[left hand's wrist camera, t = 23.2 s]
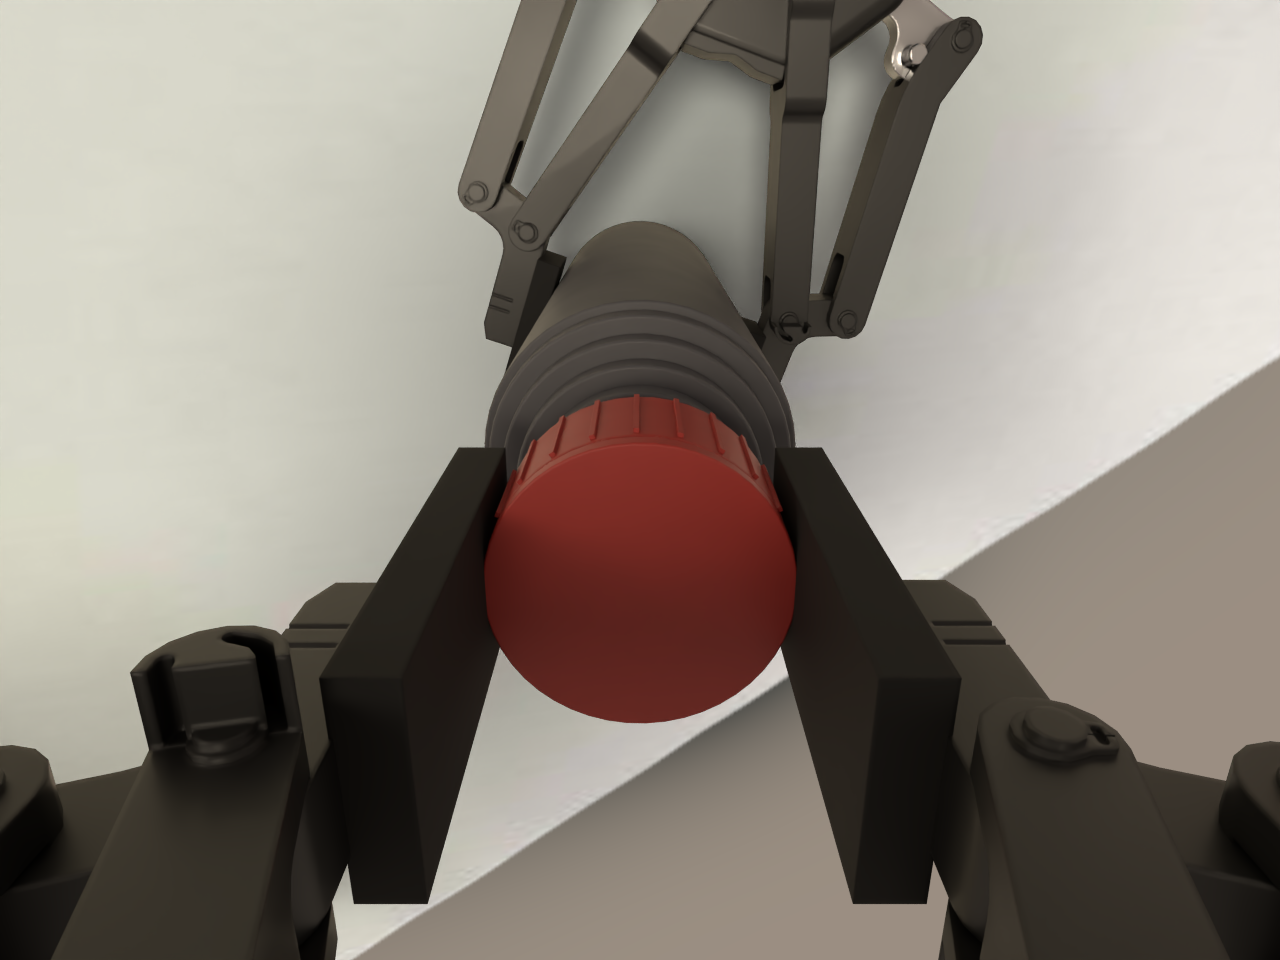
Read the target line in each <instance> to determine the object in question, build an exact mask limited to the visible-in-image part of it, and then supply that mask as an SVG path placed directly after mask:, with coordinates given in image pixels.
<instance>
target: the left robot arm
mask: <svg viewBox="0 0 1280 960" xmlns="http://www.w3.org/2000/svg"><path fill="white" fill-rule="evenodd" d="M506 486H507V466H506V449H505V448H458V450H457V451H456V453H455V455H454V456H453V458H452V460H451V461H450V463H449V465H448V466H447V468H446V470H445V471H444V473H443V475H442V476H441V478H440V479H439V481H438V483H437V484H436V486H435V488H434V489H433V491H432V493H431V494H430V496H429V498H428V499H427V501H426V503H425V504H424V506H423V507H422V509H421V511H420V512H419V514H418V516H417V517H416V519H415V521H414V522H413V524H412V526H411V527H410V529H409V530H408V532H407V534H406V535H405V537H404V539H403V540H402V542H401V544H400V545H399V547H398V549H397V550H396V552H395V554H394V555H393V557H392V558H391V560H390V562H389V563H388V565H387V567H386V568H385V570H384V572H383V573H382V575H381V577H380V578H379V580H378V582H377V583H335V584H333V585H332V586H330V587H328V588H327V589H325V590H324V591H322V592H321V593H319V594H318V595H316V596H314V597H313V598H311V599H310V600H308V601H307V602H306V603H305V604H304V605H303V607H302V608H301V609H300V611H299V612H298V613H297V615H296V616H295V617H294V619H293V620H292V622H291V623H290V624H289V629H286V630H285V631H284V632H283V634H282V635H281V634H279V633H278V632H277V631H275V630H271V629H267V628H262V627H258V626H225V627H219V628H214V629H209V630H204V631H199V632H195V633H193V634H190V635H187V636H184V637H182V638H179V639H176V640H173V641H171V642H168V643H167V644H165V645H163V646H162V647H160V648H158V649H157V650H155V651H153V652H152V653H150V654H148V655H146V656H145V657H144V658H143V659H142V660H141V661H140V662H139V663H138V665H137V666H136V667H135V668H134V669H133V670H132V671H131V672H130V674H131V678H132V682H133V686H134V690H135V694H136V698H137V702H138V706H139V710H140V714H141V719H142V723H143V727H144V731H145V735H146V739H147V743H148V747H149V752H148V754H147V756H146V758H145V760H144V762H143V764H142V766H140V767H136V768H132V769H128V770H125V771H121V772H116V773H111V774H106V775H101V776H96V777H91V778H86V779H81V780H76V781H71V782H67V783H62V784H57V785H56V784H55V781H54V777H53V774H52V771H51V767H50V764H49V761H48V759H47V758H46V757H44V756H43V755H42V754H41V753H40V752H38V751H37V750H36V749H32V748H26V747H20V746H14V745H9V746H0V960H335V956H336V948H337V940H338V938H337V931H336V924H335V917H334V911H333V905H332V901H333V898H334V896H335V893H336V891H337V888H338V886H339V883H340V881H341V879H342V876H343V874H344V871H345V869H346V866H347V864H348V869H349V875H350V882H351V888H352V895H353V901H354V904H428V901H429V897H430V894H431V890H432V886H433V883H434V879H435V876H436V872H437V869H438V865H439V862H440V858H441V854H442V851H443V847H444V844H445V840H446V837H447V833H448V830H449V826H450V822H451V819H452V815H453V812H454V808H455V805H456V801H457V798H458V794H459V790H460V787H461V783H462V780H463V776H464V773H465V769H466V766H467V762H468V758H469V755H470V751H471V748H472V744H473V741H474V737H475V734H476V730H477V726H478V723H479V719H480V716H481V712H482V709H483V705H484V702H485V698H486V694H487V691H488V687H489V684H490V680H491V677H492V673H493V670H494V666H495V662H496V659H497V655H498V652H499V648H500V646H499V644H498V642H497V640H496V638H495V636H494V634H493V632H492V629H491V626H490V623H489V621H488V616H487V604H486V590H485V576H484V559H485V555H486V551H487V548H488V544H489V541H490V538H491V535H492V533H493V530H494V528H495V525H496V522H497V520H498V518H496V517H494V516H495V513H496V511H497V508H498V506H499V503H500V501H501V498H502V496H503V493H504V491H505V488H506ZM773 486H774V489H775V491H776V494H777V496H778V499H779V501H780V504H781V506H782V509H783V511H781V512H780V513H781V516H782V519H783V521H784V524H785V527H786V529H787V532H788V534H789V537H790V540H791V542H792V546H793V549H794V554H795V559H796V566H797V569H796V585H795V598H794V611H793V619H792V622H791V625H790V627H789V630H788V632H787V635H786V637H785V639H784V641H783V643H782V644H781V650H782V653H783V657H784V660H785V664H786V668H787V671H788V675H789V678H790V682H791V685H792V689H793V692H794V696H795V700H796V703H797V707H798V710H799V714H800V717H801V721H802V724H803V728H804V732H805V735H806V739H807V742H808V745H809V749H810V753H811V756H812V760H813V764H814V767H815V770H816V774H817V778H818V781H819V785H820V788H821V792H822V795H823V799H824V802H825V806H826V810H827V813H828V817H829V820H830V824H831V827H832V831H833V835H834V838H835V842H836V845H837V849H838V852H839V856H840V859H841V863H842V867H843V870H844V873H845V877H846V881H847V884H848V888H849V891H850V895H851V899H852V902H853V904H927V898H928V892H929V886H930V879H931V873H932V866H933V860H934V863H935V865H936V868H937V870H938V873H939V875H940V877H941V880H942V882H943V885H944V887H945V890H946V892H947V894H948V897H949V899H948V905H947V911H946V917H945V923H944V929H943V935H942V941H941V947H940V953H939V959H938V960H1280V742H1272V741H1269V742H1263V743H1257V744H1251V745H1246V746H1245V747H1244V748H1243V749H1241V750H1240V751H1239V752H1238V753H1236V754H1235V755H1234V756H1233V760H1232V763H1231V766H1230V770H1229V773H1228V776H1227V780H1226V781H1223V780H1218V779H1214V778H1208V777H1204V776H1199V775H1194V774H1189V773H1184V772H1179V771H1174V770H1169V769H1164V768H1159V767H1156V766H1152V765H1148V764H1144V763H1140V762H1137V761H1136V759H1135V757H1134V754H1133V752H1132V750H1131V748H1130V747H1129V746H1128V744H1127V743H1126V742H1125V741H1124V739H1123V738H1122V737H1121V736H1120V734H1119V733H1118V732H1117V731H1116V730H1115V729H1113V728H1112V727H1110V726H1109V725H1107V724H1106V723H1105V722H1103V721H1102V720H1100V719H1099V718H1097V717H1096V716H1095V715H1092V714H1090V713H1088V712H1085V711H1083V710H1080V709H1078V708H1076V707H1074V706H1071V705H1069V704H1066V703H1061V702H1057V701H1052V700H1050V699H1049V698H1048V696H1047V695H1046V694H1045V692H1044V691H1043V690H1042V688H1041V687H1040V686H1039V684H1038V683H1037V682H1036V680H1035V679H1034V678H1033V676H1032V675H1031V674H1030V672H1029V671H1028V669H1027V668H1026V667H1025V665H1024V664H1023V663H1022V661H1021V660H1020V659H1019V657H1018V656H1017V655H1016V653H1015V652H1014V651H1013V649H1012V648H1011V647H1010V645H1006V643H1005V639H1004V637H1003V636H1002V634H1001V633H1000V632H999V631H998V629H997V628H996V627H995V626H992V621H991V620H990V618H989V617H988V616H987V614H986V613H985V612H984V610H983V609H982V608H981V606H980V605H979V604H978V602H977V601H976V600H975V599H974V598H973V597H971V596H969V595H968V594H966V593H965V592H963V591H962V590H960V589H959V588H957V587H955V586H954V585H952V584H951V583H949V582H948V581H946V580H902V579H901V577H900V576H899V574H898V572H897V571H896V569H895V567H894V566H893V564H892V562H891V561H890V559H889V557H888V556H887V554H886V553H885V551H884V549H883V548H882V546H881V544H880V543H879V541H878V539H877V538H876V536H875V534H874V533H873V531H872V529H871V528H870V526H869V525H868V523H867V521H866V520H865V518H864V516H863V515H862V513H861V511H860V510H859V508H858V506H857V505H856V503H855V501H854V500H853V498H852V497H851V495H850V493H849V492H848V490H847V488H846V487H845V485H844V483H843V482H842V480H841V478H840V477H839V475H838V474H837V472H836V470H835V469H834V467H833V465H832V464H831V462H830V460H829V459H828V457H827V455H826V454H825V452H824V450H823V449H822V448H775V459H774V476H773Z"/></svg>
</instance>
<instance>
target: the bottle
mask: <svg viewBox="0 0 1280 960" xmlns="http://www.w3.org/2000/svg"><path fill="white" fill-rule="evenodd" d="M634 394H639V397H655V398H661V399H667V400H673V399H674V398H676V399H679V402H680V403H683V404H687V405H690V406H692V407H694V408H697V409H699V410H701V411H704V412H706V413H708V414H710V412H712V413H714V414H715V416H716V419H718V420H719V421H721V422H722V423H724V424H725V425H726V426H727V427H729V428H730V429H731V430H732V431H734V432H735V433H736V434H737V435H738V436H741V435H743V436H744V437H745V439H746V442H747V445H748V447H749V448H750V450H751V451H752V453H753V454H754V455H755V457H756V458H757V460H758V461H759V463H760V465H763V464H764V465H765V466H766V469H767V471H768V474H769V476H770V479H771V481H772V484H773V476H774V459H775V448H795V433H794V423H793V419H792V415H791V411H790V406H789V403H788V401H787V398H786V396H785V393H784V390H783V388H782V386H781V384H780V382H779V380H778V379H777V377H776V375H775V373H774V371H773V370H772V368H771V366H770V365H769V363H768V361H767V360H766V358H765V356H764V355H763V353H762V351H761V350H760V348H759V346H758V345H757V343H756V341H755V340H754V338H753V336H752V335H751V333H750V331H749V330H748V328H747V326H746V325H745V323H744V321H743V320H742V318H741V316H740V315H739V313H738V311H737V310H736V308H735V306H734V305H733V303H732V302H731V300H730V298H729V297H728V295H727V293H726V292H725V290H724V288H723V287H722V285H721V283H720V282H719V280H718V278H717V277H716V275H715V273H714V272H713V270H712V268H711V267H710V265H709V263H708V262H707V260H706V258H705V257H704V255H703V254H702V253H701V251H700V250H699V249H698V247H697V246H696V245H695V244H694V243H693V242H692V241H691V240H689V239H688V238H687V237H686V236H684V235H683V234H681V233H680V232H678V231H676V230H674V229H672V228H670V227H667V226H665V225H662V224H658V223H654V222H645V221H634V222H627V223H622V224H618V225H615V226H612V227H610V228H608V229H606V230H604V231H602V232H600V233H599V234H597V235H596V236H594V237H593V238H592V239H591V240H590V241H588V242H587V243H586V244H585V245H584V246H583V248H582V249H581V250H580V251H579V253H578V254H577V255H576V257H575V258H574V260H573V262H572V263H571V265H570V267H569V268H568V270H567V272H566V273H565V275H564V277H563V278H562V280H561V282H560V283H559V285H558V287H557V288H556V290H555V291H554V293H553V295H552V296H551V298H550V300H549V301H548V303H547V305H546V306H545V308H544V310H543V311H542V313H541V315H540V316H539V318H538V320H537V321H536V323H535V325H534V326H533V328H532V330H531V331H530V333H529V335H528V336H527V338H526V340H525V341H524V343H523V345H522V346H521V348H520V350H519V351H518V353H517V355H516V356H515V358H514V360H513V361H512V363H511V365H510V366H509V368H508V370H507V371H506V373H505V375H504V377H503V379H502V381H501V383H500V385H499V387H498V389H497V390H496V393H495V396H494V398H493V401H492V404H491V407H490V410H489V415H488V420H487V425H486V433H485V448H505V449H506V466H507V483H508V481H509V478H510V476H511V473H512V471H513V469H514V470H516V471H517V469H518V467H519V466H520V464H521V462H522V460H523V459H524V457H525V455H526V454H527V452H528V449H529V447H530V444H531V442H532V441H533V440H534V439H535V440H536V441H537V440H538V439H539V438H540V437H541V436H542V435H544V434H545V433H546V432H547V431H548V430H549V429H550V428H551V427H553V426H554V425H555V424H557V423H558V421H559V418H560V417H561V416H563V415H564V416H565V417H567V416H569V415H571V414H573V413H575V412H577V411H579V410H580V409H583V408H586V407H588V406H591V405H594V403H595V401H597V400H600V402H603V401H608V400H613V399H618V398H628V397H634Z"/></svg>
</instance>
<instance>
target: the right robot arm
mask: <svg viewBox="0 0 1280 960" xmlns="http://www.w3.org/2000/svg"><path fill="white" fill-rule="evenodd" d="M576 2H577V0H521V2H520V5H519V8H518V11H517V14H516V17H515V20H514V23H513V26H512V29H511V32H510V35H509V38H508V41H507V44H506V47H505V49H504V52H503V55H502V58H501V61H500V64H499V67H498V70H497V73H496V76H495V79H494V82H493V85H492V88H491V91H490V94H489V97H488V100H487V103H486V106H485V109H484V112H483V114H482V117H481V120H480V123H479V126H478V129H477V132H476V135H475V138H474V141H473V144H472V147H471V150H470V153H469V156H468V159H467V162H466V165H465V168H464V171H463V174H462V176H461V179H460V182H459V187H458V195H459V199H460V201H461V203H462V204H463V206H464V207H465V208H467V209H468V210H470V211H472V212H476V213H477V214H478V215H479V216H481V217H482V218H483V219H484V220H486V221H487V222H488V223H489V224H491V225H492V226H493V227H494V228H495V229H496V230H497V231H498V232H499V234H500V236H501V238H502V241H503V248H504V249H503V255H502V259H501V262H500V266H499V270H498V273H497V277H496V281H495V284H494V288H493V292H492V296H491V299H490V303H489V307H488V310H487V314H486V317H485V321H484V326H485V334H486V339H489V340H492V341H495V342H498V343H501V344H504V345H507V346H510V347H512V350H511V354H510V357H509V360H508V364H507V367H506V371H507V370H508V368H509V366H510V365H511V363H512V361H513V360H514V358H515V356H516V355H517V353H518V351H519V350H520V348H521V346H522V345H523V343H524V341H525V340H526V338H527V336H528V335H529V333H530V331H531V330H532V328H533V326H534V325H535V323H536V321H537V320H538V318H539V316H540V315H541V313H542V311H543V310H544V308H545V306H546V305H547V303H548V301H549V300H550V298H551V296H552V295H553V293H554V291H555V290H556V288H557V287H558V285H559V282H560V279H561V275H562V272H563V269H564V265H565V262H566V259H567V257H565V256H562V255H559V254H556V253H553V252H550V251H547V250H546V249H547V245H548V242H549V239H550V237H551V236H552V234H553V232H554V231H555V229H556V228H557V227H558V225H559V224H560V222H561V221H562V219H563V218H564V217H565V215H566V214H567V212H568V211H569V209H570V208H571V206H572V205H573V204H574V202H575V201H576V199H577V198H578V196H579V195H580V194H581V192H582V191H583V189H584V188H585V186H586V185H587V183H588V182H589V181H590V179H591V178H592V176H593V175H594V173H595V172H596V170H597V169H598V168H599V166H600V165H601V163H602V162H603V160H604V159H605V158H606V156H607V155H608V153H609V152H610V150H611V149H612V147H613V146H614V145H615V143H616V142H617V140H618V139H619V137H620V136H621V135H622V133H623V132H624V130H625V129H626V127H627V126H628V124H629V123H630V122H631V120H632V119H633V117H634V116H635V114H636V113H637V112H638V110H639V109H640V107H641V106H642V104H643V103H644V101H645V100H646V99H647V97H648V96H649V94H650V93H651V91H652V90H653V89H654V87H655V86H656V84H657V83H658V81H659V80H660V79H661V77H662V76H663V75H664V73H665V72H666V70H667V69H668V68H669V66H670V65H671V63H672V62H673V60H674V59H675V58H676V56H677V55H678V53H679V52H680V50H681V49H682V50H681V51H683V52H685V53H688V54H691V55H693V56H696V57H699V58H701V59H705V60H720V61H729V62H731V63H732V64H734V65H735V66H736V67H738V68H739V69H740V70H742V71H743V72H744V73H746V74H747V75H748V76H750V77H752V78H755V79H757V80H760V81H763V82H765V83H768V84H771V87H770V119H771V129H770V148H769V168H768V187H767V207H766V227H765V246H764V266H763V285H762V305H761V311H762V314H761V316H760V319H759V321H758V324H757V323H756V322H755V321H752V320H749V319H746V318H743V317H741V318H742V320H743V321H744V323H745V325H746V326H747V328H748V330H749V331H750V333H751V335H752V336H753V338H754V340H755V341H756V343H757V345H758V346H759V348H760V350H761V351H762V353H763V355H764V356H765V358H766V360H767V361H768V363H769V365H770V366H771V368H772V370H773V371H774V373H775V375H776V377H777V379H778V380H779V382H781V380H782V377H783V375H784V372H785V370H786V367H787V365H788V362H789V360H790V357H791V355H792V352H793V351H794V349H795V347H796V346H797V345H798V344H800V343H801V342H803V341H805V340H806V339H807V338H809V337H820V336H838V337H840V338H843V339H850V338H852V337H855V336H857V335H858V334H859V333H860V332H861V331H862V330H863V328H864V326H865V324H866V321H867V318H868V315H869V312H870V309H871V306H872V303H873V300H874V297H875V294H876V291H877V288H878V285H879V282H880V279H881V277H882V274H883V271H884V268H885V265H886V262H887V259H888V256H889V253H890V250H891V247H892V244H893V241H894V238H895V235H896V232H897V229H898V226H899V223H900V221H901V218H902V215H903V212H904V209H905V206H906V203H907V200H908V197H909V194H910V191H911V188H912V185H913V182H914V179H915V176H916V173H917V170H918V168H919V165H920V162H921V159H922V156H923V153H924V150H925V147H926V144H927V141H928V138H929V135H930V132H931V129H932V126H933V123H934V120H935V117H936V114H937V112H938V109H939V106H940V103H941V102H942V100H943V99H944V98H945V96H946V95H947V94H948V92H949V91H950V89H951V88H952V87H953V85H954V84H955V83H956V81H957V80H958V78H959V77H960V76H961V74H962V73H963V72H964V70H965V69H966V67H967V66H968V65H969V63H970V62H971V61H972V59H973V58H974V56H975V55H976V54H977V52H978V50H979V48H980V46H981V44H982V38H983V34H982V29H981V26H980V25H979V24H978V22H977V21H976V20H974V19H972V18H970V17H959V18H957V19H955V20H953V19H952V18H950V17H949V16H948V15H946V14H945V13H944V12H943V11H942V10H940V9H939V8H938V7H937V6H936V5H934V4H933V3H932V2H931V1H929V0H657V3H656V5H655V6H654V8H653V9H652V11H651V12H650V14H649V15H648V17H647V18H646V20H645V21H644V23H643V24H642V26H641V27H640V29H639V30H638V32H637V33H636V35H635V36H634V38H633V40H632V42H631V44H630V45H629V47H628V48H627V50H626V51H625V53H624V54H623V56H622V57H621V59H620V60H619V62H618V63H617V65H616V66H615V68H614V69H613V71H612V72H611V74H610V75H609V77H608V78H607V80H606V81H605V83H604V84H603V86H602V87H601V88H600V90H599V91H598V93H597V94H596V96H595V97H594V99H593V100H592V102H591V103H590V105H589V106H588V108H587V109H586V111H585V112H584V114H583V115H582V117H581V118H580V120H579V121H578V123H577V124H576V125H575V127H574V128H573V130H572V131H571V133H570V134H569V136H568V137H567V139H566V140H565V142H564V143H563V145H562V146H561V148H560V149H559V151H558V152H557V154H556V155H555V157H554V158H553V160H552V161H551V163H550V164H549V165H548V167H547V168H546V170H545V171H544V173H543V174H542V176H541V177H540V179H539V180H538V182H537V183H536V185H535V186H534V188H533V189H532V191H531V192H530V194H529V195H528V197H527V198H526V197H524V196H523V195H522V194H521V193H520V192H518V191H517V190H516V189H515V188H513V187H512V186H511V183H512V180H513V177H514V174H515V172H516V169H517V166H518V163H519V161H520V158H521V155H522V152H523V149H524V147H525V144H526V141H527V138H528V135H529V133H530V130H531V127H532V124H533V122H534V119H535V116H536V113H537V110H538V108H539V105H540V102H541V99H542V96H543V94H544V91H545V88H546V85H547V83H548V80H549V77H550V74H551V71H552V69H553V66H554V63H555V60H556V57H557V55H558V52H559V49H560V46H561V44H562V41H563V38H564V35H565V32H566V30H567V27H568V24H569V21H570V18H571V16H572V13H573V10H574V7H575V5H576ZM880 21H883V22H884V23H885V24H886V26H887V28H888V30H889V35H890V40H889V45H888V48H887V51H886V53H885V56H884V67H885V70H886V72H887V74H888V75H889V76H890V77H891V78H892V80H891V82H890V84H889V85H888V87H887V89H886V92H885V94H884V96H883V98H882V100H881V102H880V105H879V108H878V111H877V113H876V116H875V119H874V123H873V126H872V129H871V132H870V135H869V138H868V142H867V145H866V148H865V151H864V154H863V157H862V160H861V164H860V167H859V170H858V173H857V176H856V179H855V183H854V186H853V189H852V192H851V195H850V198H849V202H848V205H847V208H846V211H845V214H844V217H843V221H842V224H841V227H840V230H839V233H838V236H837V240H836V243H835V246H834V249H833V252H832V255H831V258H830V262H829V265H828V268H827V271H826V274H825V277H824V281H823V284H822V287H821V290H820V293H819V294H810V282H811V267H812V253H813V239H814V225H815V211H816V196H817V182H818V168H819V154H820V140H821V125H822V118H823V114H824V111H825V107H826V100H827V87H828V73H829V60H830V59H831V58H832V57H834V56H835V55H836V54H838V53H839V52H840V51H842V50H843V49H844V48H846V47H847V46H848V45H850V44H851V43H852V42H854V41H855V40H856V39H858V38H859V37H860V36H862V35H863V34H864V33H866V32H867V31H868V30H870V29H871V28H872V27H874V26H875V25H876V24H878V23H879V22H880ZM506 371H505V373H506ZM504 375H505V374H504Z"/></svg>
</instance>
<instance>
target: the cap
mask: <svg viewBox="0 0 1280 960" xmlns="http://www.w3.org/2000/svg"><path fill="white" fill-rule="evenodd" d="M781 511H783V509H782V506H781V504H780V501H779V499H778V496H777V494H776V491H775V489H774V486H773V484H772V481H771V479H770V476H769V474H768V471H767V469H766V466H765V465H764V464H763V465H760V463H759V461H758V460H757V458H756V457H755V455H754V454H753V453H752V451H751V450H750V448H749V447H748V445H747V442H746V439H745V437H744V436H743V435H741V436H738V435H737V434H736V433H735V432H734V431H732V430H731V429H730V428H729V427H727V426H726V425H725V424H724V423H722V422H721V421H719V420H718V419H716V416H715V414H714V413H712V412H710V414H708V413H706V412H704V411H701V410H699V409H697V408H694V407H692V406H690V405H687V404H683V403H680V402H679V399H676V398H674V399H673V400H667V399H661V398H655V397H639V394H634V397H628V398H618V399H613V400H608V401H603V402H600V400H597V401H595V403H594V405H591V406H588V407H586V408H583V409H580V410H579V411H577V412H575V413H573V414H571V415H569V416H567V417H565V416H564V415H563V416H561V417H560V418H559V421H558V423H557V424H555V425H554V426H553V427H551V428H550V429H549V430H548V431H547V432H546V433H545V434H544V435H542V436H541V437H540V438H539V439H538V440H537V441H536V440H535V439H534V440H533V441H532V442H531V444H530V447H529V449H528V452H527V454H526V455H525V457H524V459H523V460H522V462H521V464H520V466H519V467H518V469H517V471H516V470H514V469H513V471H512V473H511V476H510V478H509V481H508V483H507V486H506V488H505V491H504V493H503V496H502V498H501V501H500V503H499V506H498V508H497V511H496V513H495V516H494V517H496V518H498V520H497V522H496V525H495V528H494V530H493V533H492V535H491V538H490V541H489V544H488V548H487V551H486V555H485V559H484V576H485V590H486V604H487V616H488V621H489V623H490V626H491V629H492V632H493V634H494V636H495V638H496V640H497V642H498V644H499V646H500V648H501V650H502V651H503V652H504V654H505V655H506V657H507V658H508V660H509V661H510V663H511V664H512V665H513V666H514V667H515V668H516V670H517V671H518V672H519V673H520V674H521V675H522V676H523V677H524V678H525V679H526V680H527V681H528V682H529V683H531V684H532V685H533V686H534V687H535V688H536V689H538V690H539V691H540V692H542V693H543V694H545V695H546V696H548V697H549V698H551V699H552V700H554V701H556V702H558V703H560V704H562V705H564V706H566V707H568V708H570V709H572V710H575V711H577V712H580V713H583V714H586V715H588V716H592V717H596V718H600V719H604V720H609V721H616V722H624V723H655V722H666V721H671V720H676V719H681V718H685V717H688V716H691V715H694V714H698V713H701V712H703V711H706V710H708V709H710V708H712V707H715V706H717V705H719V704H721V703H722V702H724V701H726V700H728V699H729V698H731V697H733V696H734V695H736V694H737V693H738V692H740V691H741V690H742V689H744V688H745V687H746V686H748V685H749V684H750V683H751V682H752V681H753V680H754V679H755V678H756V677H757V676H758V675H759V674H760V673H761V672H762V671H763V670H764V669H765V668H766V667H767V665H768V664H769V663H770V661H771V660H772V659H773V657H774V656H775V655H776V653H777V651H778V650H779V648H780V646H781V644H782V643H783V641H784V639H785V637H786V635H787V632H788V630H789V627H790V625H791V622H792V619H793V611H794V598H795V585H796V569H797V566H796V559H795V554H794V549H793V546H792V542H791V540H790V537H789V534H788V532H787V529H786V527H785V524H784V521H783V519H782V516H781V513H780V512H781Z"/></svg>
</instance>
